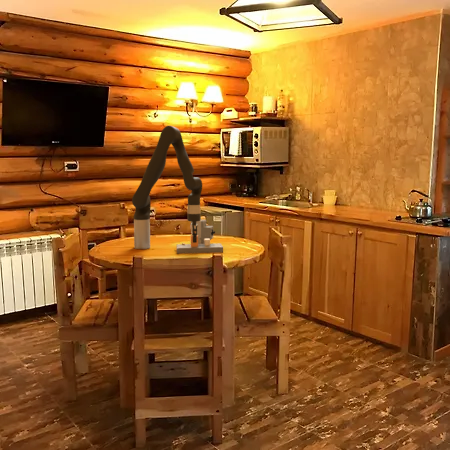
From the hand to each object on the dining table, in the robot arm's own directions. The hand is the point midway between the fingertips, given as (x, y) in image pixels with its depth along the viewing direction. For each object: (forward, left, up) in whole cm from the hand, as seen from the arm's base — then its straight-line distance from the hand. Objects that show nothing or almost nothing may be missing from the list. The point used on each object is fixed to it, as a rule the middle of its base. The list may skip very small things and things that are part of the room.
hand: (194, 241), depth 294 cm
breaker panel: (+3, 0, -6) cm, 6 cm away
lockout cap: (0, 0, -3) cm, 3 cm away
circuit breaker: (+7, +20, -6) cm, 22 cm away
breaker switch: (+7, 0, -2) cm, 8 cm away
